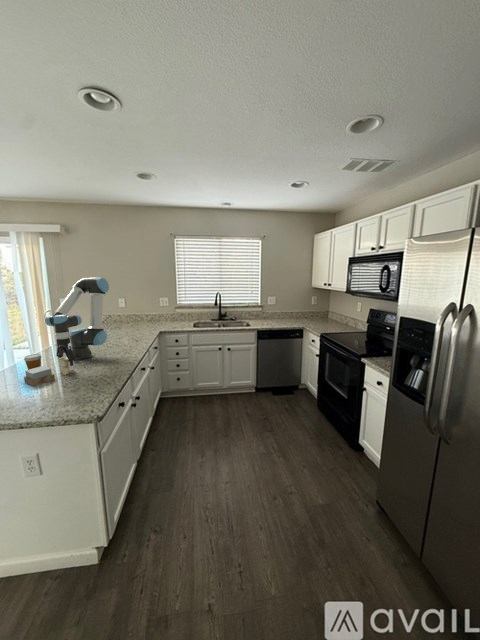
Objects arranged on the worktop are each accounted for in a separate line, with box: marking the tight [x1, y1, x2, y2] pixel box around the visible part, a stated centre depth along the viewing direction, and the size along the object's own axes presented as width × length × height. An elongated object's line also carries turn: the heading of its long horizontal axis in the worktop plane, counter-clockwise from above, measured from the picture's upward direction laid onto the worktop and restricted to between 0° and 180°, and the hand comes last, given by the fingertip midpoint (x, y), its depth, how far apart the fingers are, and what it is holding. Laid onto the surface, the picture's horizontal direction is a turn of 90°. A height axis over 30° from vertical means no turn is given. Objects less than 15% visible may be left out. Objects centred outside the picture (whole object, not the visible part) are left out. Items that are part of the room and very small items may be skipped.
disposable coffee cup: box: [23, 353, 42, 370], centre depth 178 cm, size 10×10×12 cm
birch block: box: [58, 356, 75, 376], centre depth 178 cm, size 6×6×10 cm
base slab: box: [23, 373, 56, 387], centre depth 165 cm, size 12×12×4 cm
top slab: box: [24, 365, 53, 380], centre depth 164 cm, size 10×10×4 cm
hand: (66, 368), depth 178 cm, fingers open, 13 cm apart
